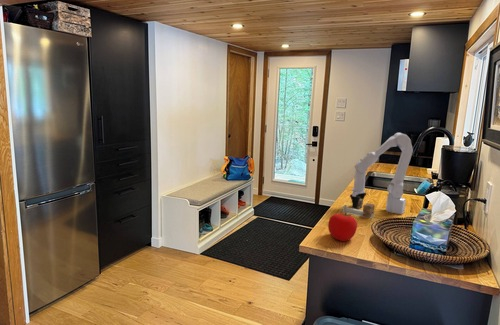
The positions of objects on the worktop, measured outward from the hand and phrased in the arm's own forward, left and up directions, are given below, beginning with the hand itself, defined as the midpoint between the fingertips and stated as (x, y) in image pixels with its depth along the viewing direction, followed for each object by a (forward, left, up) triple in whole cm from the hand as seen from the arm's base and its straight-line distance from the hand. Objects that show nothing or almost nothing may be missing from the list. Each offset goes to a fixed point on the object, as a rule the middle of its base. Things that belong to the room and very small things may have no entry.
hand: (357, 206), depth 190 cm
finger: (-10, +9, -1) cm, 13 cm away
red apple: (-10, +46, -2) cm, 47 cm away
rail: (-4, +9, -2) cm, 10 cm away
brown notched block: (0, 0, -2) cm, 2 cm away
